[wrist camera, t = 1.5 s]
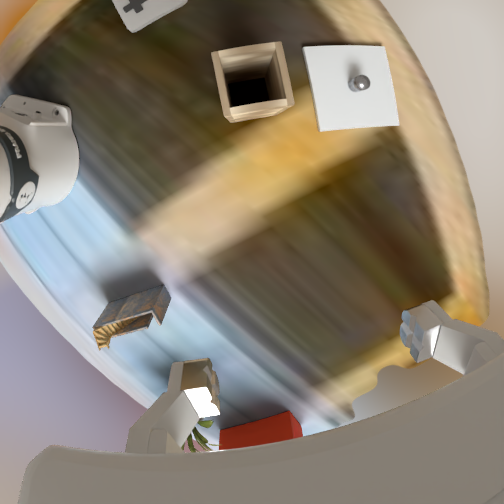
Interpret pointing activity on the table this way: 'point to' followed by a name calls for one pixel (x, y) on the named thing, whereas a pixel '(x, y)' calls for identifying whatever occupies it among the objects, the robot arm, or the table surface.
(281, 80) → the birch sleeve
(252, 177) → the table surface
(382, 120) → the plate
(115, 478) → the robot arm
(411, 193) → the table surface
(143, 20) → the handheld gaming console
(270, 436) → the file binder
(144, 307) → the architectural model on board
